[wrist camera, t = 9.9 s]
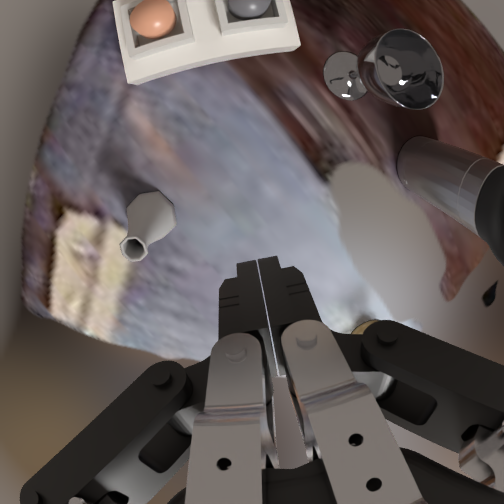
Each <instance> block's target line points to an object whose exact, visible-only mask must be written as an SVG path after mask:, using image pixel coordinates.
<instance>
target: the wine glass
mask: <svg viewBox="0 0 504 504" xmlns="http://www.w3.org/2000/svg"><path fill="white" fill-rule="evenodd" d="M323 75H324V80H325V83H326V85H327V87H328V88H329V89H330V91H331V92H332V93H333V94H335V95H336V96H337V97H339V98H341V99H344V100H357V99H360V98H362V97H363V96H364V95H365V94H366V93H367V92H369V93H370V94H371V95H372V96H374V97H375V98H377V99H379V100H381V101H383V102H385V103H387V104H390V105H393V106H397V107H401V108H406V109H417V110H420V109H425V108H428V107H430V106H431V105H433V104H434V103H435V102H436V101H437V100H438V98H439V96H440V95H441V92H442V89H443V83H444V74H443V68H442V64H441V61H440V59H439V56H438V54H437V53H436V51H435V49H434V48H433V47H432V45H431V44H430V43H429V42H428V41H427V40H426V39H425V38H424V37H422V36H421V35H419V34H418V33H416V32H414V31H411V30H407V29H395V30H391V31H387V32H384V33H382V34H379V35H377V36H375V37H374V38H372V39H371V40H369V41H368V42H367V43H366V44H365V45H364V46H363V47H362V49H361V50H360V52H359V54H358V56H357V55H356V54H353V53H351V52H338V53H335V54H333V55H331V56H330V57H329V58H328V59H327V61H326V63H325V65H324V69H323Z"/></svg>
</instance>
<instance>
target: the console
mask: <svg viewBox="0 0 504 504" xmlns="http://www.w3.org/2000/svg"><path fill="white" fill-rule="evenodd" d="M142 1H144V0H116V1H113V8H114V14H115V21H116V27H117V32H118V38H119V43H120V49H121V54H122V59H123V64H124V68H125V73H126V78H127V82H128V83H130V84H135V85H139V84H141V83H144V82H147V81H150V80H153V79H157V78H160V77H163V76H166V75H170V74H173V73H177V72H180V71H184V70H188V69H191V68H195V67H199V66H204V65H208V64H212V63H217V62H222V61H227V60H232V59H237V58H243V57H249V56H256V55H262V54H270V53H278V52H288V51H294V50H295V49H296V48H298V47H299V46H301V45H300V40H299V36H298V31H297V27H296V23H295V19H294V15H293V11H292V7H291V3H290V0H271V2H270V5H269V7H268V8H267V10H266V12H265V14H264V15H263V16H262V17H261V18H259V19H253V20H246V21H243V20H239V19H237V18H235V17H234V16H232V15H231V13H230V12H229V10H228V0H167V1H168V2H169V3H170V5H171V6H172V8H173V10H174V12H175V14H176V16H177V22H176V25H175V27H174V29H173V30H172V31H171V32H170V33H169V34H168V35H166V36H164V37H162V38H159V39H147V38H145V37H143V36H142V35H140V34H139V33H138V32H136V31H135V30H134V29H133V28H132V27H131V25H130V15H131V12H132V11H133V9H134V8H135V7H136V6H137V5H138V4H139V3H140V2H142Z"/></svg>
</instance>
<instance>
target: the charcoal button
mask: <svg viewBox="0 0 504 504" xmlns="http://www.w3.org/2000/svg"><path fill="white" fill-rule="evenodd" d="M270 2H271V0H228V10H229V12H230V13H231V15H232V16H234V17H235V18H237V19H239V20H243V21H246V20H253V19H259V18H261V17H262V16H263V15H264V14H265V12H266V10H267V8H268V7H269V5H270Z"/></svg>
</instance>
